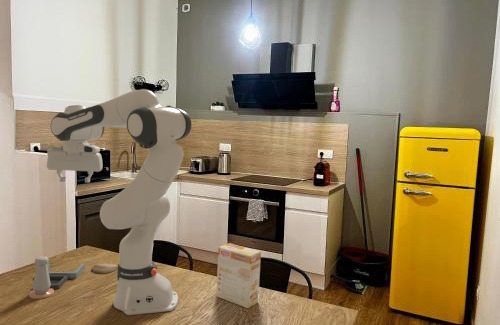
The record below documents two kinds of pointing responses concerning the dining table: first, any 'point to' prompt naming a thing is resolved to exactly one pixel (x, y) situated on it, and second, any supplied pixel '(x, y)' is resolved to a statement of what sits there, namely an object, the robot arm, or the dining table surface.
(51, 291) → the coaster
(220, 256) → the coffeecake box
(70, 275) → the cubby bay
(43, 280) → the salt shaker
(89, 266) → the dining table surface
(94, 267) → the cork trivet
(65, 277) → the hole frame
